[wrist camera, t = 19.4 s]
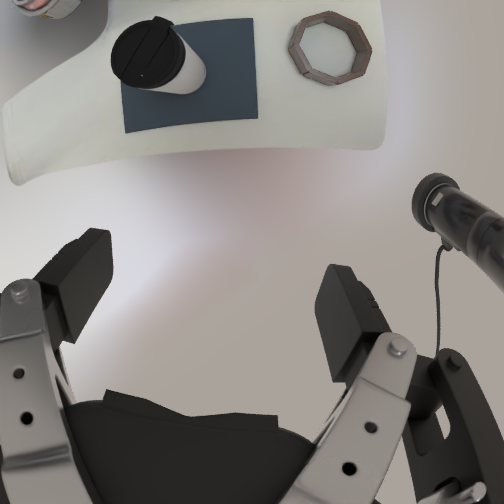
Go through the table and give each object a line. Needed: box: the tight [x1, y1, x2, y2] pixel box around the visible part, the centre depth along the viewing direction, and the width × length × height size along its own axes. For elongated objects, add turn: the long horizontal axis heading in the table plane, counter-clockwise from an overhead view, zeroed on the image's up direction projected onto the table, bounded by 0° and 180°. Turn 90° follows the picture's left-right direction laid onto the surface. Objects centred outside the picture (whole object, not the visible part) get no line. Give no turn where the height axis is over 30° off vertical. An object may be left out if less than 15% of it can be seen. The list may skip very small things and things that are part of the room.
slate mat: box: [121, 18, 258, 133], centre depth 35 cm, size 20×16×1 cm
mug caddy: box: [288, 11, 372, 86], centre depth 32 cm, size 11×11×4 cm
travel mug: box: [111, 16, 207, 94], centre depth 26 cm, size 6×7×20 cm
